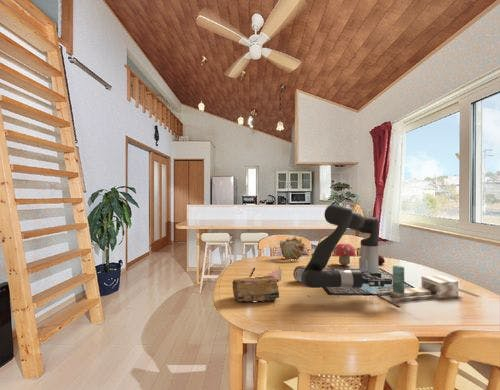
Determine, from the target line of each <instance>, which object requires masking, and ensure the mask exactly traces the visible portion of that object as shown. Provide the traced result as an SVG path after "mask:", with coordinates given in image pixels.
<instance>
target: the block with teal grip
mask: <svg viewBox="0 0 500 390" xmlns="http://www.w3.org/2000/svg"><path fill="white" fill-rule="evenodd" d="M389 291H390V296H392V297H394V298H399V297H411V296H422V295H431V291H429V290H427V289H424V288H422V286H421V287H411V288H410V287H408V288H407V287H406V288H405V267H404V266H401V265H392V289H389Z"/></svg>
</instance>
